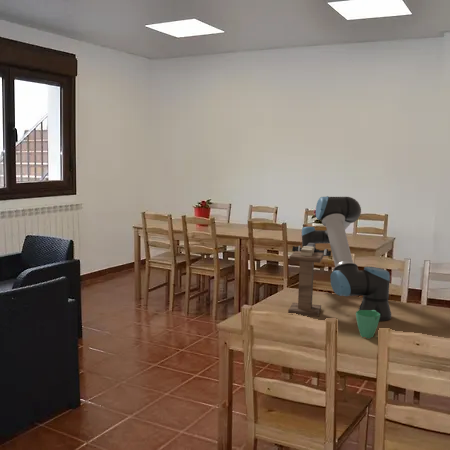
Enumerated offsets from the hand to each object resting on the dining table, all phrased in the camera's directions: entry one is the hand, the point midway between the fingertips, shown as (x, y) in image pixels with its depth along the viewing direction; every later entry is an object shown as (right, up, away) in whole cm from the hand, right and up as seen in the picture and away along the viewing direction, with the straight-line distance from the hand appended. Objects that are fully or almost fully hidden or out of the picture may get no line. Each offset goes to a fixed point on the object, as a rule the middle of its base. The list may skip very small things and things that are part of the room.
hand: (312, 249), depth 282 cm
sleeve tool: (-4, -1, -13) cm, 13 cm away
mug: (+16, -34, -49) cm, 62 cm away
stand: (-6, -29, -16) cm, 34 cm away
